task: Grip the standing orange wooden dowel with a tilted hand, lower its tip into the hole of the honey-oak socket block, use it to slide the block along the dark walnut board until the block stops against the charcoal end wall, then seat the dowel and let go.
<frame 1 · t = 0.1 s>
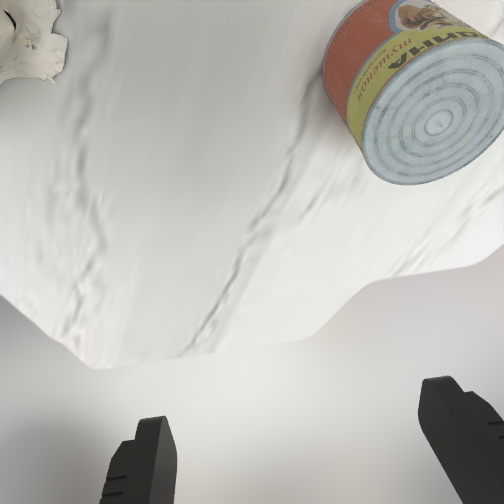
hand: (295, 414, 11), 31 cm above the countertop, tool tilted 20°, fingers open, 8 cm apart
canned food: (380, 58, 35), on the countertop
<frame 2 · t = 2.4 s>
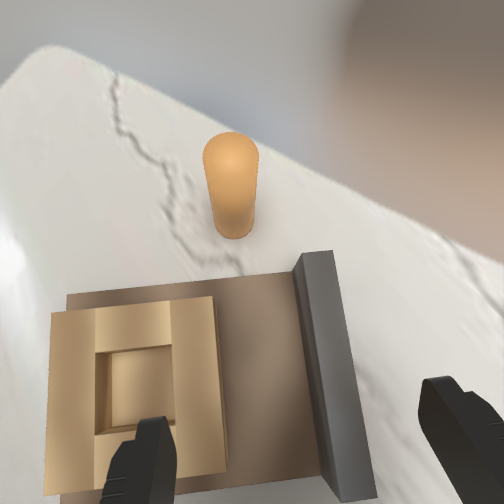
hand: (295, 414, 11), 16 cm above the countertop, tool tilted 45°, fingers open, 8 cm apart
socket block: (143, 386, 24), point 3 cm above the countertop, slide at 0.0 cm
dowel: (234, 220, 30), on the countertop
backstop: (209, 376, 27), on the countertop
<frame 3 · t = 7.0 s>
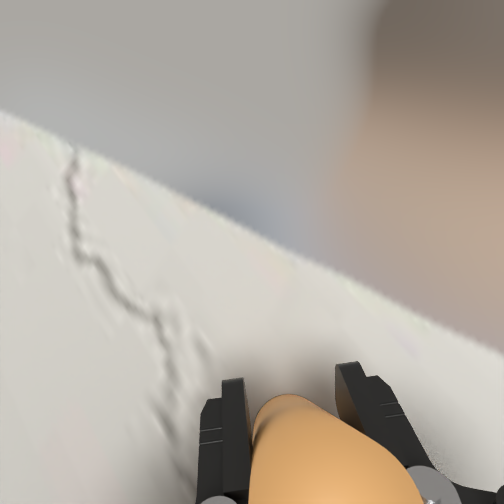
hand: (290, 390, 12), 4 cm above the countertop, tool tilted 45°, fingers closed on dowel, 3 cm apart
dowel: (289, 433, 16), on the countertop, touching gripper
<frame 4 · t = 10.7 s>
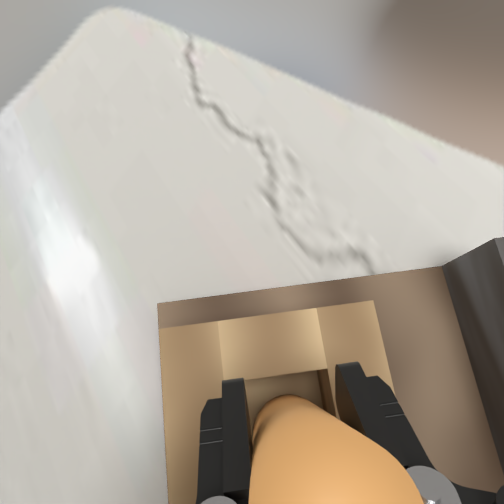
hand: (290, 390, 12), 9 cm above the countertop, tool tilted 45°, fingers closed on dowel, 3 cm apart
socket block: (280, 425, 17), point 3 cm above the countertop, slide at 0.0 cm
dowel: (290, 433, 16), point 5 cm above the countertop, touching gripper
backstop: (347, 406, 21), on the countertop
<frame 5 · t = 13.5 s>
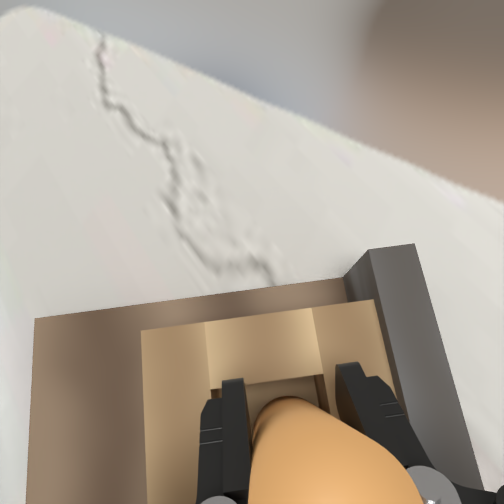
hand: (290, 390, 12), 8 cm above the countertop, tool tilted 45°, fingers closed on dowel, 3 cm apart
socket block: (273, 435, 16), point 3 cm above the countertop, slide at 6.0 cm, touching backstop, dowel
dowel: (289, 434, 16), point 3 cm above the countertop, touching gripper, socket block
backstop: (233, 430, 19), on the countertop
when the fingers open (7 cm above the countertop, at t = 14.6 s): dowel stays where it is, resting on socket block.
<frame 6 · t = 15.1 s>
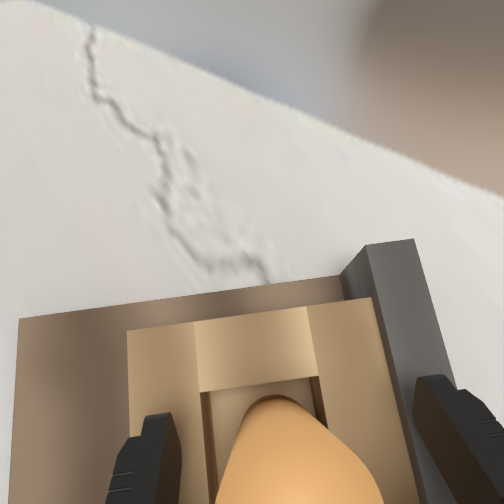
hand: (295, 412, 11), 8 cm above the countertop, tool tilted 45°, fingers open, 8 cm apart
socket block: (266, 440, 15), point 3 cm above the countertop, slide at 6.0 cm, touching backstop, dowel
dowel: (276, 432, 16), point 2 cm above the countertop, touching socket block
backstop: (225, 434, 18), on the countertop
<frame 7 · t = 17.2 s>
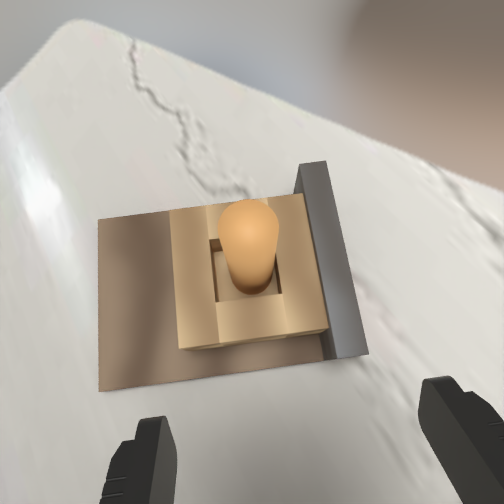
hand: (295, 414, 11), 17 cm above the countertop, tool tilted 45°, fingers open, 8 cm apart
socket block: (245, 272, 28), point 3 cm above the countertop, slide at 6.0 cm, touching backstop, dowel
dowel: (251, 274, 29), point 2 cm above the countertop, touching socket block
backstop: (223, 285, 31), on the countertop
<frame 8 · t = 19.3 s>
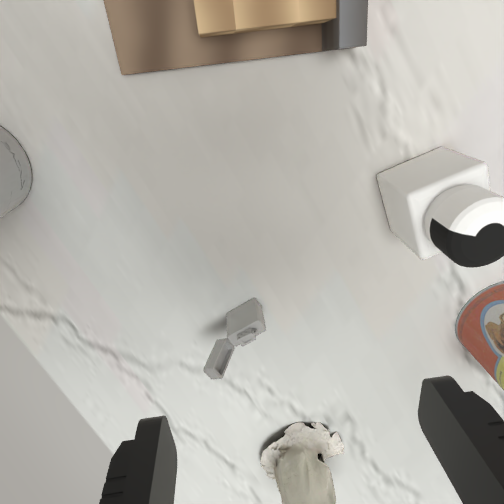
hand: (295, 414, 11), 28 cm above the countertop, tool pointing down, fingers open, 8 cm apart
canned food: (496, 316, 48), on the countertop
medicine bottle: (413, 189, 39), on the countertop
lighter: (233, 315, 44), on the countertop
mushroom: (300, 448, 57), on the countertop
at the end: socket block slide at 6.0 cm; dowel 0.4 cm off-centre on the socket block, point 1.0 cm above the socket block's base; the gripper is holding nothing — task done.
